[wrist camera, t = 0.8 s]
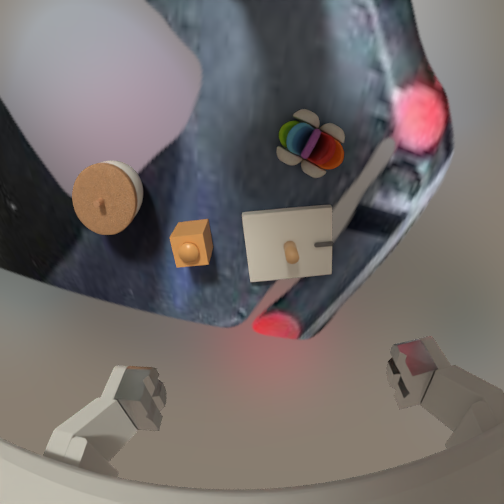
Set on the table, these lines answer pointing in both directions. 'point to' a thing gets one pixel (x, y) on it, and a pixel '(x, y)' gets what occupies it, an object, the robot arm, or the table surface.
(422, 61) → the table surface
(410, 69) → the table surface
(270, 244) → the plate
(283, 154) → the rainbow segmented toy
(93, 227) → the lidded jar
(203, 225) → the orange cube with dome
